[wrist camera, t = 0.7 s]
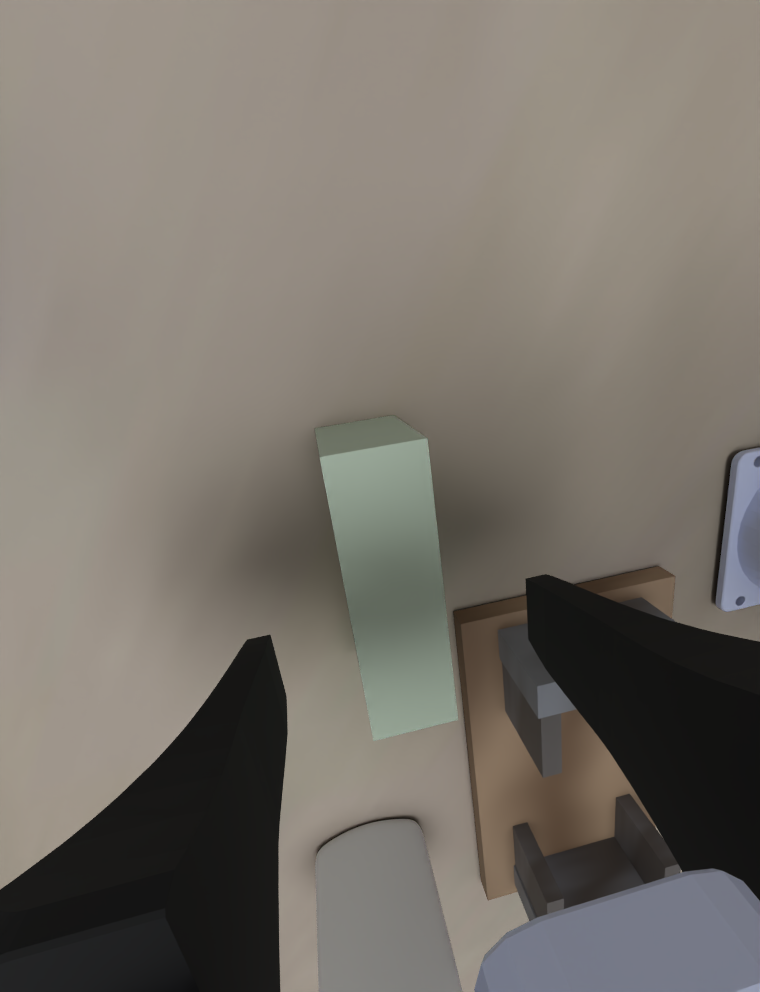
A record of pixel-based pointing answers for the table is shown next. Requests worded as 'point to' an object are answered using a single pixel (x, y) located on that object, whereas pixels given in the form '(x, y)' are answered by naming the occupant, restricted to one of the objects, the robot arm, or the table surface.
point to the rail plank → (391, 570)
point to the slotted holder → (550, 765)
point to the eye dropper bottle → (381, 913)
